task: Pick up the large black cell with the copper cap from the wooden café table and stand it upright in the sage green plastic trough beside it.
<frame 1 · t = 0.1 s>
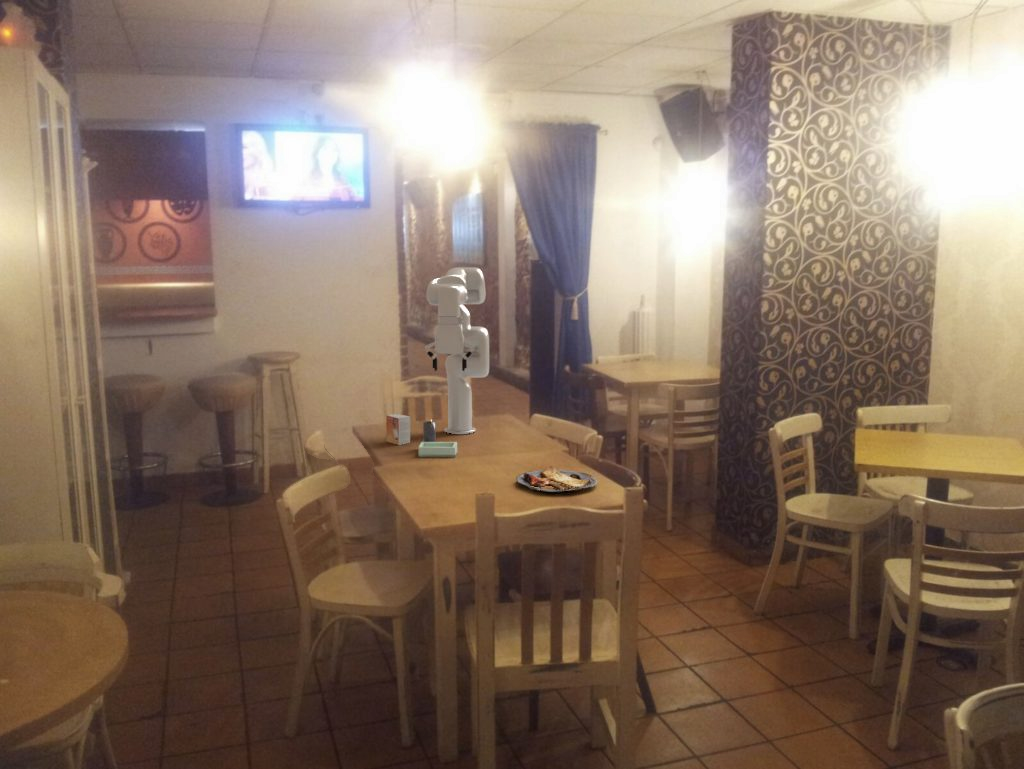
hand: (449, 370, 307), 31 cm above the table, tool pointing down, fingers open, 9 cm apart
food plate: (556, 486, 276), on the table
small box: (398, 443, 336), on the table
cell: (429, 448, 326), on the table
trough: (438, 454, 317), on the table
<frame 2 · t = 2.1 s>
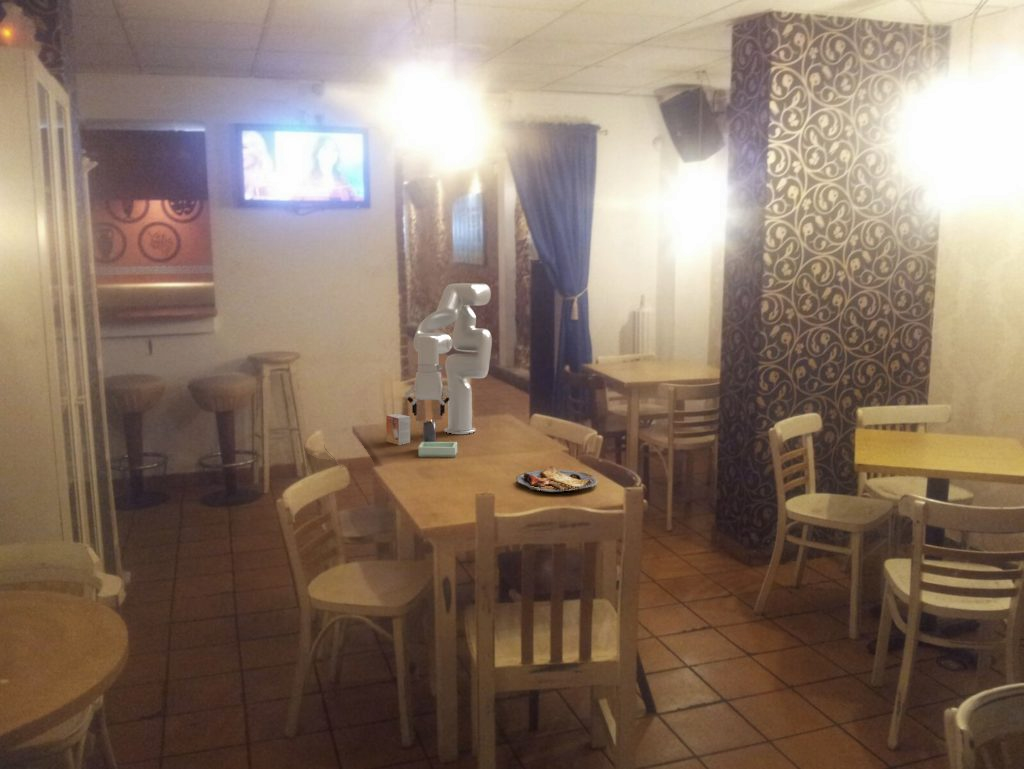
hand: (428, 415, 324), 13 cm above the table, tool pointing down, fingers open, 9 cm apart
nothing on the table moved.
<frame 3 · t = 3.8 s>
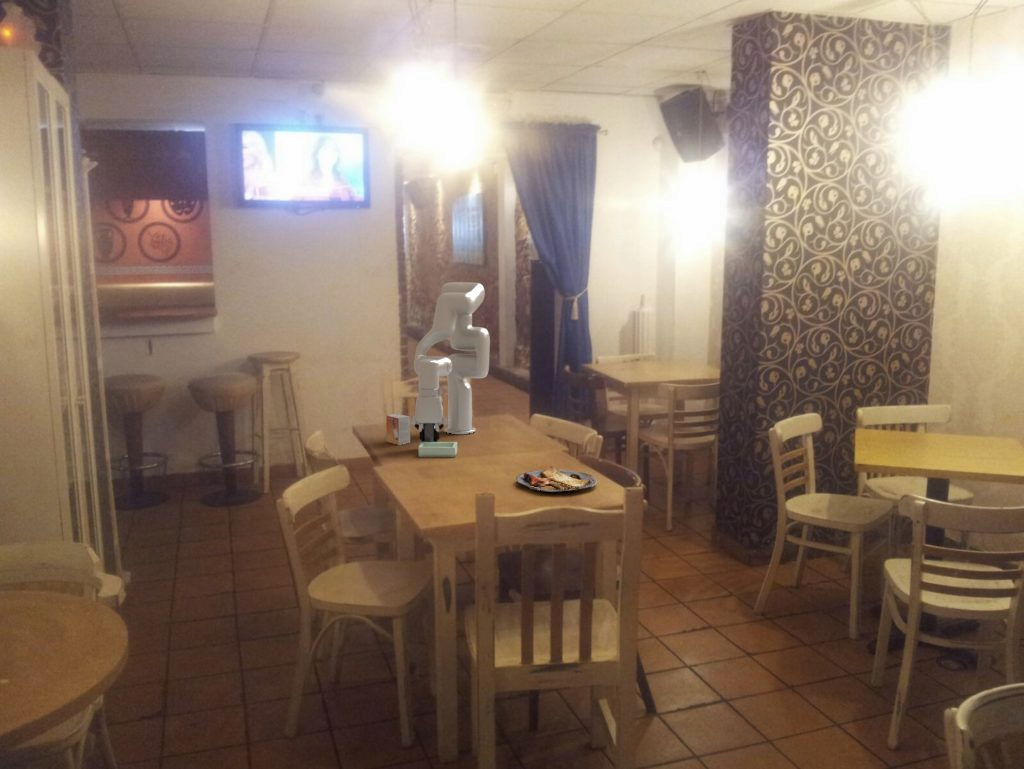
hand: (429, 441, 326), 3 cm above the table, tool pointing down, fingers closed on cell, 4 cm apart
cell: (429, 448, 326), on the table, touching gripper
everything else where it was.
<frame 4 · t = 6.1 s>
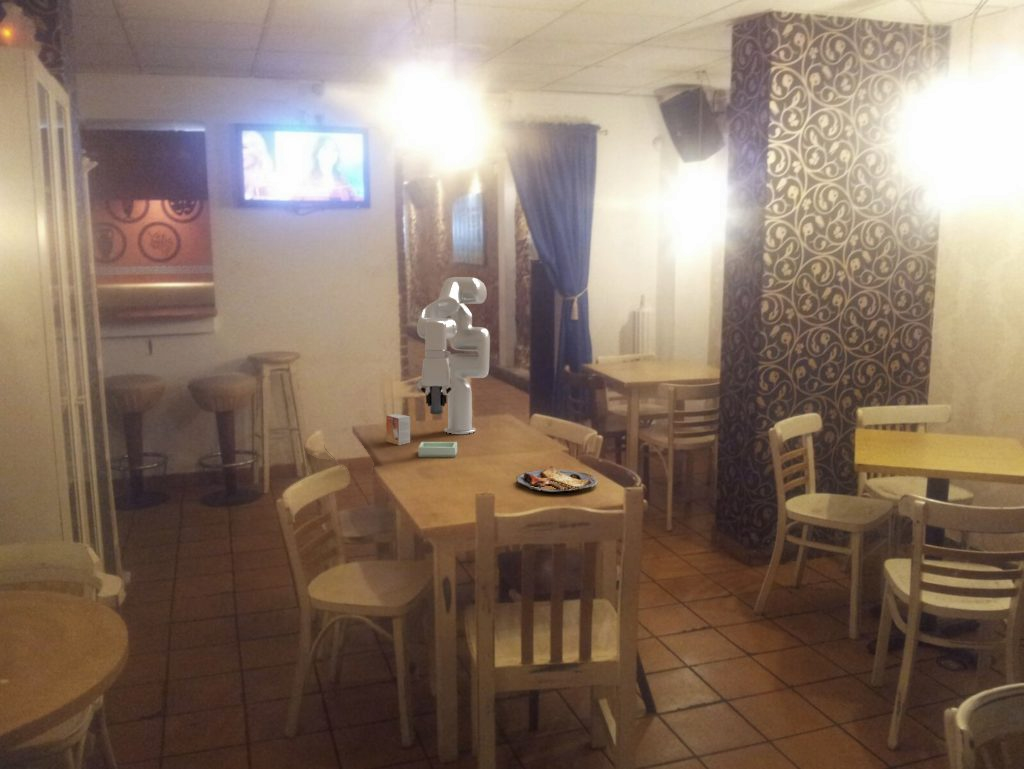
hand: (436, 405, 315), 18 cm above the table, tool pointing down, fingers closed on cell, 4 cm apart
cell: (436, 413, 315), point 15 cm above the table, touching gripper
everything else where it was.
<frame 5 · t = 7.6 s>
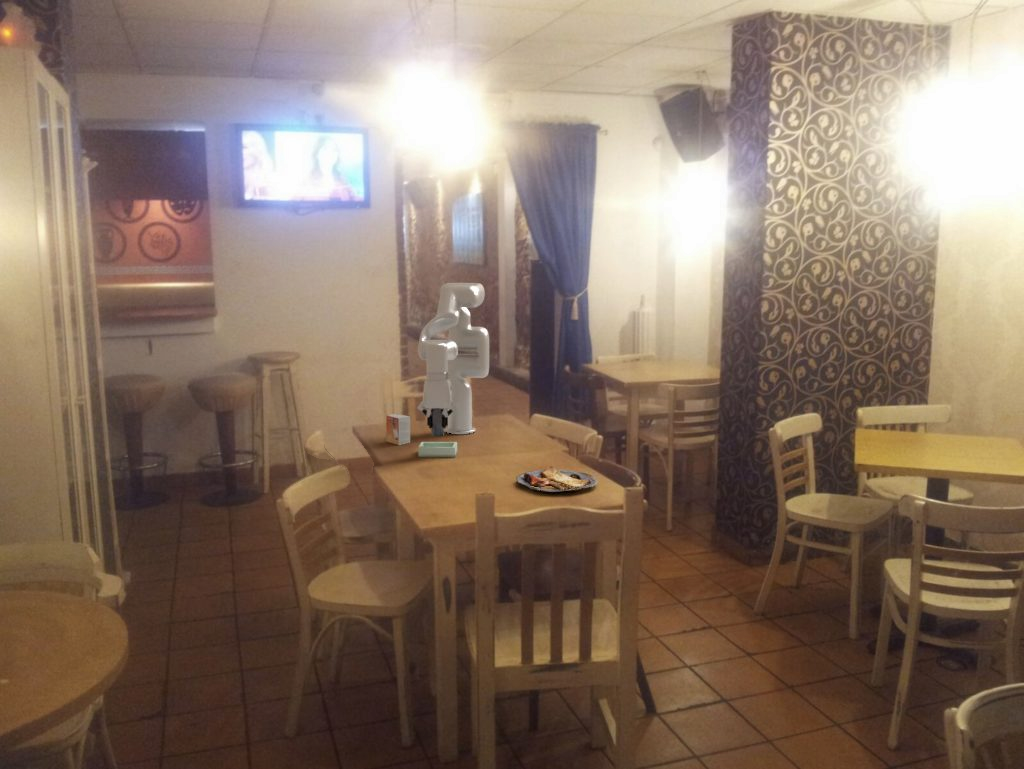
hand: (437, 427, 315), 10 cm above the table, tool pointing down, fingers closed on cell, 4 cm apart
cell: (437, 435, 316), point 7 cm above the table, touching gripper
everything else where it was.
when the fingers open (5 cm above the table, at t = 8.8 s): cell drops 2 cm, resting on trough.
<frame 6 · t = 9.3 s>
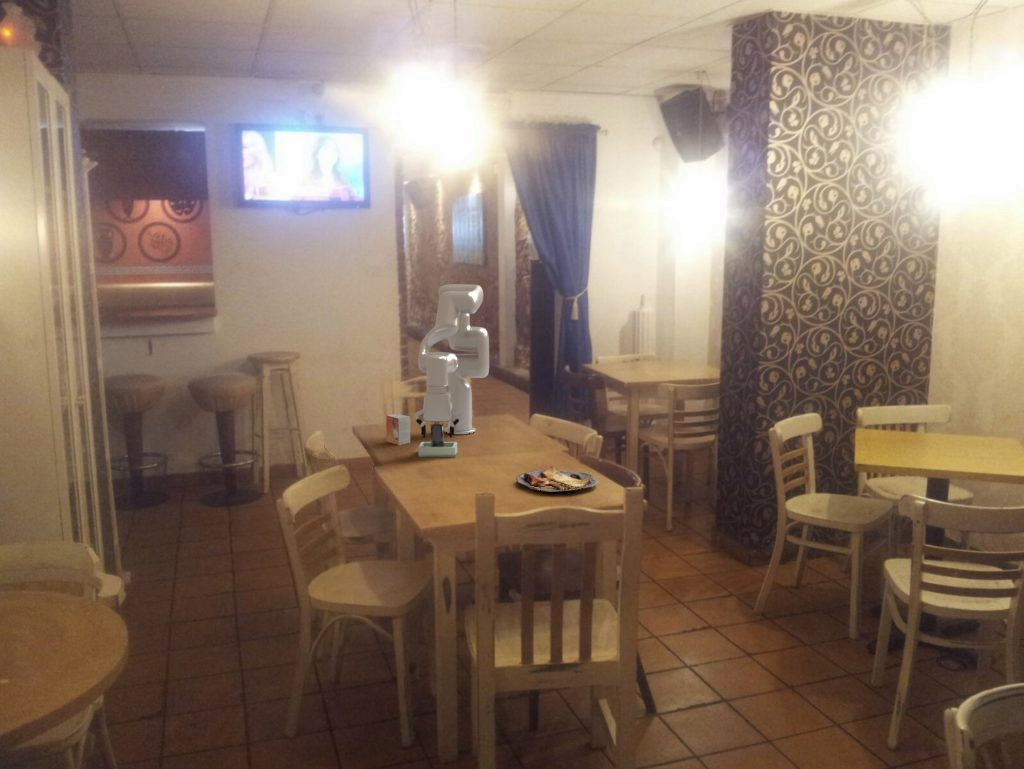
hand: (437, 437, 316), 6 cm above the table, tool pointing down, fingers open, 9 cm apart
cell: (437, 451, 317), point 1 cm above the table, touching trough
everything else where it was.
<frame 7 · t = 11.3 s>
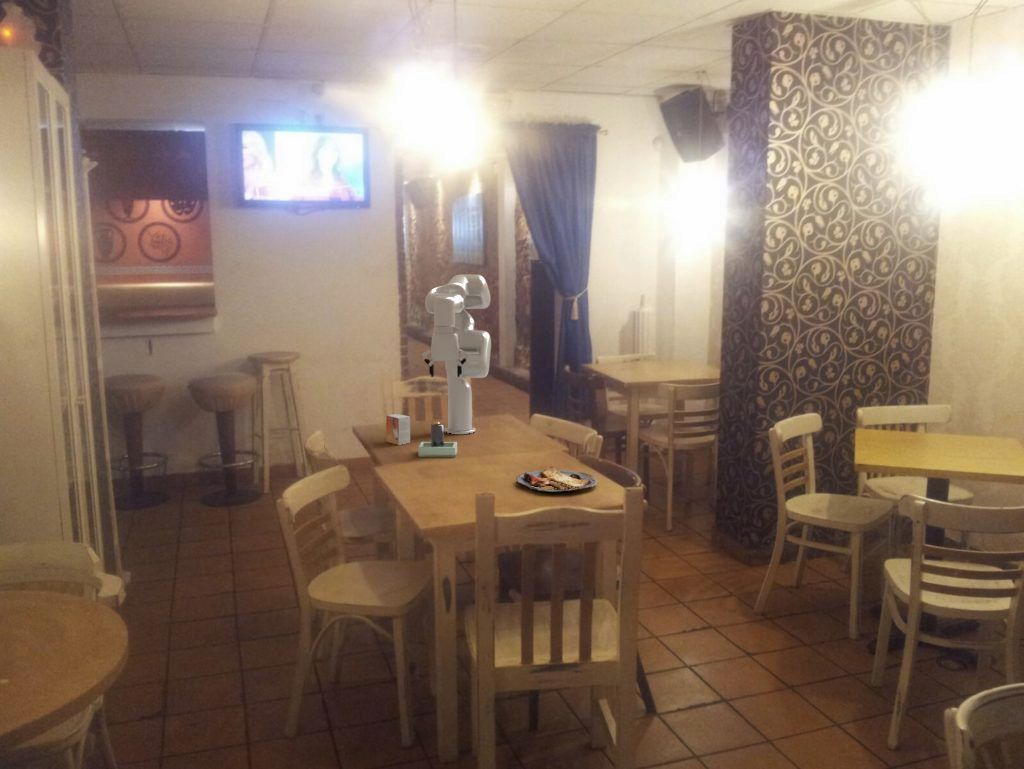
hand: (445, 376, 324), 27 cm above the table, tool pointing down, fingers open, 9 cm apart
nothing on the table moved.
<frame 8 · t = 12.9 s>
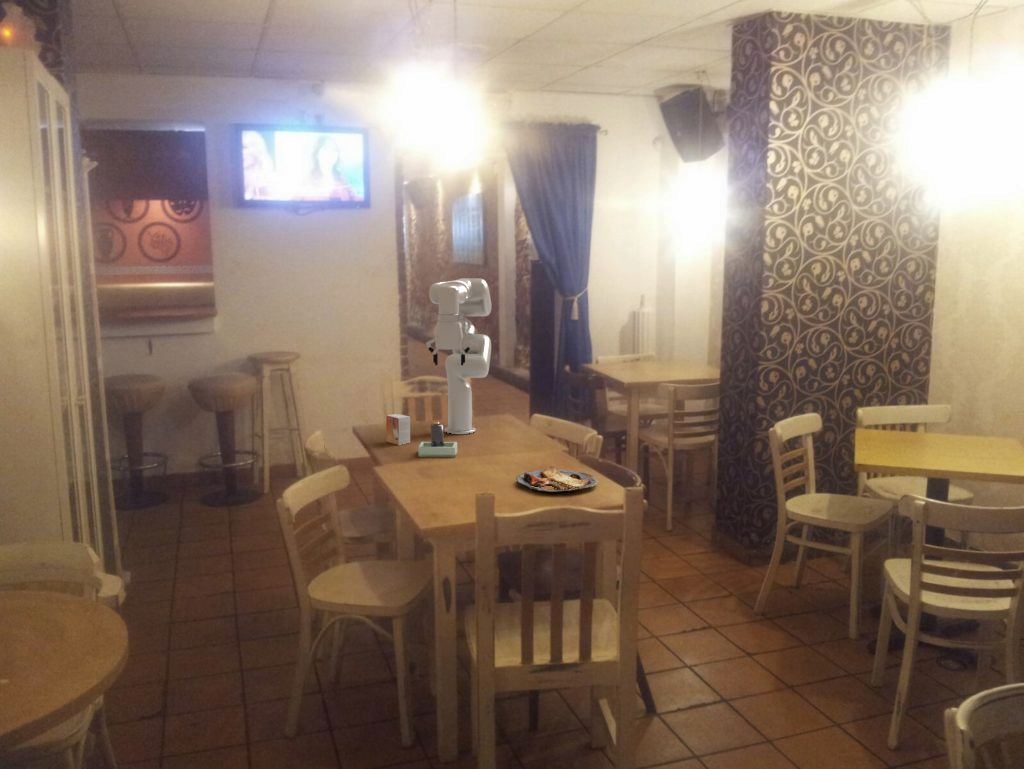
hand: (449, 364, 328), 30 cm above the table, tool pointing down, fingers open, 9 cm apart
nothing on the table moved.
at the end: cell inside the target area on the trough (0.1 cm from its centre), point 0.9 cm above the trough's base; cell tilted 2°; the gripper is holding nothing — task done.
